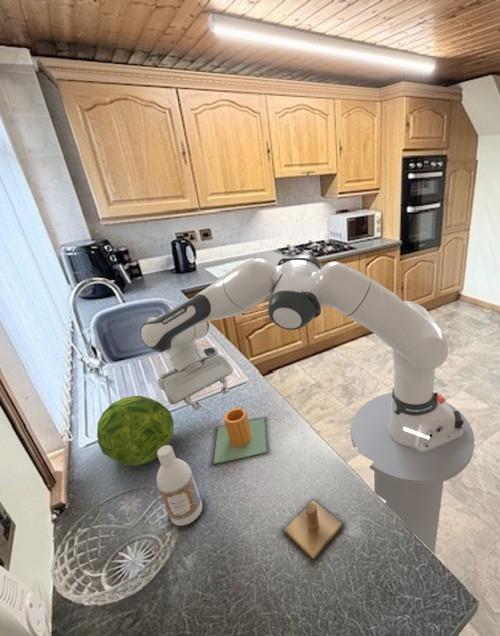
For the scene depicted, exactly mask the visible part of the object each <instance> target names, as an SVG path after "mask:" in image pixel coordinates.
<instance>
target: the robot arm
mask: <svg viewBox="0 0 500 636" xmlns="http://www.w3.org/2000/svg"><path fill="white" fill-rule="evenodd" d="M263 302H264V303H265V302H268V306H267V312H268V316H269V319H270V320H271V322H272V323H273V324H274V325H276V326H277V327H279V328H281V329H283V330H287V331H296V330H300V329H302V328H304V327H306V326H307V325H308V324H309V323H310V322H311V321H312V320H314V319H316V318H318V317H319V316H320V315H321V314H322V308H323V307H329V308H332V309H334V310H336V311H338V312H339V313H341V314H342V315H344V316H345V317H347V318H349V319H351V320H352V321H354V322H356V323H357V324H358V325H361V326H362V327H364V328H366V329H367V330H369V331H370V332H371V333H373V334H375V335H376V336H377V337H378V338H379V339H380V340H382V341H383V342H384V343H385V344H386V345H388V346H389V347H390V348H391V349H392V358H393V371H394V373H393V388H392V392H391V393H392V414H391V417H390V420H389V423H388V426H387V430H388V433H389V435H390V436H391V438H392V439H393V440H395V441H396V442H397V443H399V444H401V445H404V446H407V447H411V448H414V449H416V450H418V451H419V452H422V453H425V452H428V451H430V450H432V449H434V448H437V447H439V446H441V445H443V444H446V443H448V442H450V441H452V440H455V439H457V438H459V437H461V436H463V427H462V425H463V420H462V419H461V416H460V413H461V412H460V411H459V410H458V411H453V410H452V409H451V407H450V406H449V405H448V404H449V403H448V402H447V401H446V398H445V397H444V396H443V395H442V394H439V391H438V390H437V389H436V388H435V387H434V386H435V376H436V375H435V374H436V370H437V369H438V368H440V367H441V366H443V364H444V363H445V362H446V360H447V358H448V355H449V347H448V343H447V339H446V337H445V334H444V332H443V331H442V330H441V328H440V327H439V325H438V324H437V323H436V321H435V320H434V319H433V317H432V316H431V314H430V313H429V311H428V310H427V309H426V308H425V307H424V306H422V305H421V304H419V303H418V302H415V301H412V300H402V299H401V298H400V297H399V296H398V295H397V294H396V293H395V292H393V291H392V290H390V289H388V288H386V287H385V286H383V285H382V284H381V283H379V282H377V281H376V280H374V279H373V278H371V277H369V276H368V275H367V274H365V273H363V272H362V271H360V270H358V269H356V268H354V267H351V266H350V265H347V264H344V263H342V262H340V261H330V262H327V263H326V264H324V265H323V264H322V262H321V261H320V260H319V259H318V258H317V257H316V256H314V255H311V254H306V253H300V254H295V255H293V256H291V257H283V258H281V259H279V260H278V262H277V265H274V264H273V263H272V262H271V261H269V260H267V259H265V258H261V257H257V258H252V259H250V260H247V261H245V262H243V263H240V264H239V265H237V266H235V267H234V268H232V269H231V270H229V271H227V272H226V273H225V274H224V275H222V276H221V277H220V278H218V279H217V280H215V281H214V282H213V283H211V284H210V285H209V286H207V287H206V288H204V289H203V290H201V291H199V292H198V293H197V294H195V295H194V296H192V297H190V298H189V299H187V300H185V301H184V302H182V303H181V304H179V305H177V306H175V307H174V308H172V309H171V310H168V311H167V312H166V313H164V314H160V315H152V316H148V317H147V318H145V320H144V321H143V323H142V324H141V328H140V332H139V335H140V339H141V342H142V343H143V345H145V347H147V348H148V349H150V350H152V351H154V352H157V353H166V355H167V357H168V360H169V362H170V364H171V366H172V368H173V369H172V370H169V371H168V372H165V373H163V374H161V375H160V376H159V378H158V379H157V385H158V386H159V389H160V390H162V391H163V392H164V395H165V397H166V399H167V401H168V403H169V404H170V405H173V406H174V405H177V404H179V403H180V402H182V401H184V403H185V404H187V405H189V406H190V407H192V408H193V410H194V411H197V410H199V409H201V408H202V406H201V404H200V403H199V401H196V402H195V401H193V400H191V399H192V396H193V395H195V394H197V393H199V392H201V391H203V390H204V389H206V388H208V387H210V386H212V385H214V384H216V383H217V382H219V383H220V384H222V388H221V389H220V391H221V392H222V394H223V395H226V394H227V393H229V392H230V389H229V388H228V385H227V384H228V383H227V381H228V380H227V377H229V376H231V374H232V373H233V371H234V367H233V365H232V364H231V362H230V361H229V360H228V359H227V357H225V355H224V354H222V353H219V348H218V347H216V346H211V347H203V348H199V346H198V345H197V344H196V343H197V341H199V340H201V339H203V338H204V337H206V335H207V334H208V332H209V329H210V322H212V321H216V320H223V319H228V318H231V317H236V316H240V315H242V314H245V313H247V312H250V311H251V310H253V309H255V308H256V307H258V306H259V305H261V304H262V303H263ZM446 402H447V403H448V404H447V403H446ZM459 412H460V413H459Z"/></svg>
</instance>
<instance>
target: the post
mask: <svg viewBox="0 0 500 636" xmlns="http://www.w3.org/2000/svg"><path fill="white" fill-rule="evenodd" d="M342 527H343V523H342V522H341V521H340V520H338V519H337V518H336V517H335V516H334V515H333V514H331V513H330V512H329V511H327V510H326V509H325V507H323V506H321V505H320V504H319V503H318V502H316V501H315V500H314V499H313V500H312V501H311V502H309V503H308V504H306V506H305V508H304V509H303V510H301V512H300V513H299V514H298V515H297V516H296V517H295V518H294V519H293V520H292V521H291V522H290V523H289V524H288V525H287V526H286V527H285V528H284V530H283V531H284V533H285V534H286V535H287V536H288V537H289V538H290V539H292V540H293V542H295V543H296V544H297V545H298V546H299V547H300V548H301V549H302V550H303V551H304V552H305V553H306V554H308V556H309V557H310V558H311V559H312V560H315V558H316V557H317V556H318V555H319V554H320V552H321V551H322V550H323V549H324V548H325V547H326V545H327V544H328V543H329V542H330V541H331V540H332V539H333V537H334V536H335V535H336V534H337V533H338V532H339V530H340V529H341V528H342Z"/></svg>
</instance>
